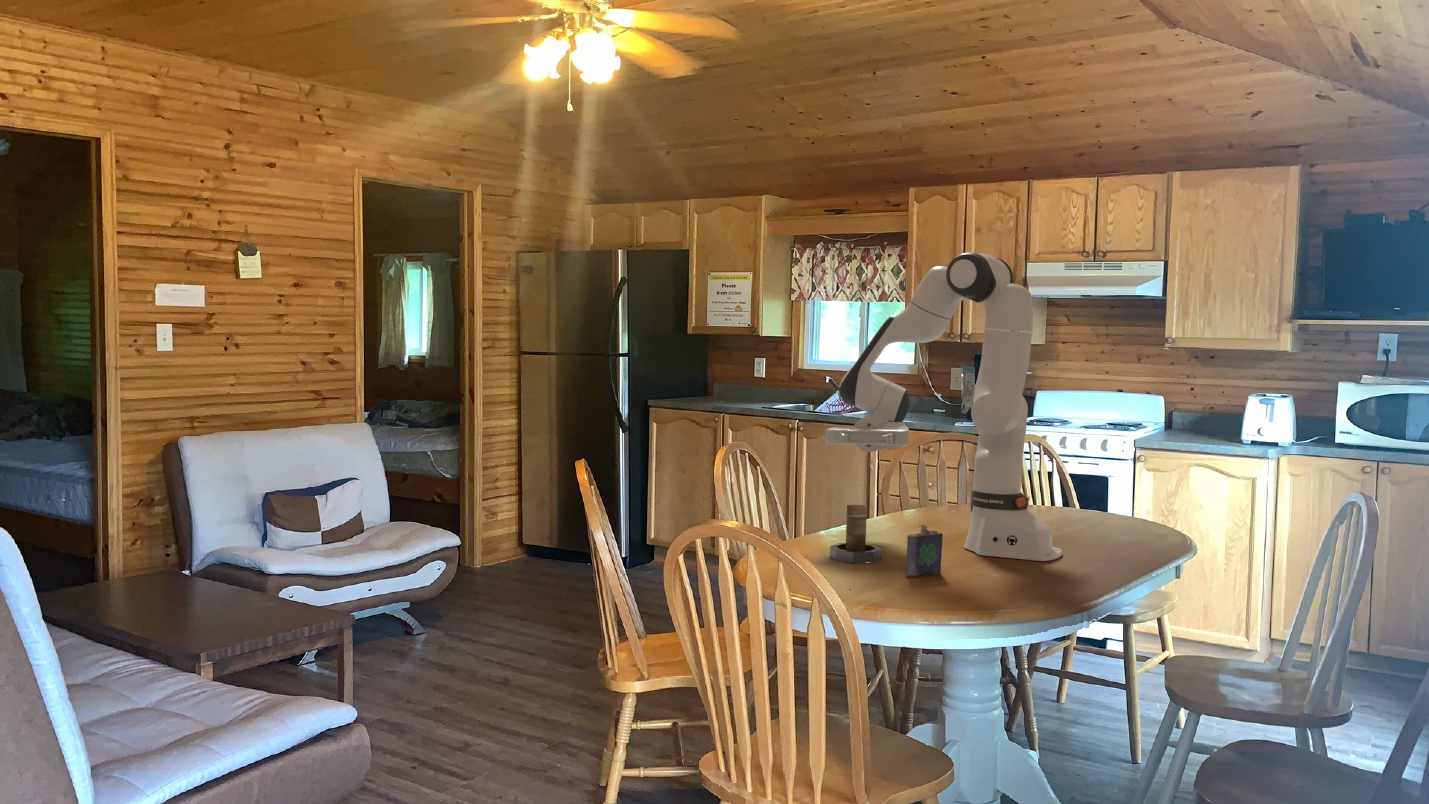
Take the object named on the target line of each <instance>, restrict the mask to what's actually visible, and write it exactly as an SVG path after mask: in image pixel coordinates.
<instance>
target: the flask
mask: <svg viewBox="0 0 1429 804" xmlns="http://www.w3.org/2000/svg"><path fill="white" fill-rule="evenodd" d="M919 528H921V529H920V533H912V534H908V535H907V540H906V541H907V544H906V547H907V548H906V567H905V569H906V570H905V575H906V578H910V577H911V578H921V577H924V578H925V577H928V576H936V575H939V576H940V575H941V573H942V572H941V571H942V570H941V569H942V554H943V553H942V552H943V551H942V549H943V536H944V535H943V533H942V532H940V531H937V530H933V529H932V530H928V529H927V528H928V526H927V525H925V524H921V525H920V526H919Z"/></svg>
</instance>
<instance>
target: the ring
mask: <svg viewBox="0 0 1429 804" xmlns="http://www.w3.org/2000/svg"><path fill="white" fill-rule="evenodd" d="M829 557H830V559H833V560H834V561H836V562H841V563H847V562H849V564H867V563H866V562H874V563H877V562H879V561H881V560H882V548H881V547H879V546H877V545H875V544H870V543H866V548H865V551H849V550H846V542H837V543H834V544H831V545H830V546H829ZM880 559H881V560H880ZM878 560H879V561H878ZM876 561H877V562H876Z"/></svg>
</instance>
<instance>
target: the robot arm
mask: <svg viewBox="0 0 1429 804" xmlns="http://www.w3.org/2000/svg"><path fill="white" fill-rule="evenodd" d="M965 299H968V300H970V301H973V302H974V303H981V304H982V305H983V307H984V311H985V320H984V321H985V322H984V330H983V340H982V350H981V351H982V352H981V358H980V366H979V370H978V374H977V379H976V383H975V388H974V394H973V400H972V406H971V409H970V410H971V412H970V415H971V420H972V422H973V424H974V426H975V428H976V429H978V430H979V431H978V432H979V433H978V439H977V446H976V452H975V455H974V465H973V466H974V467H973V489H971V494H970V512H971V516H970V523H969V527H968V528H969V529H968V532H967V537H966V540H965V542H964V548H965V549H967V550H969V551H971V552H973V553H975V554H977V555H979V556H985V557H996V558H997V557H998V558H1006V559H1007V558H1008V559H1018V560H1027V561H1037V562H1046V561H1047V562H1049V561H1053V560H1056V559H1059V558H1060V557H1062V555H1063V554H1062V553H1063V552H1062V550H1061V548H1059V547H1054V546H1053V537H1052V532H1051V529H1050V527H1049V526H1048V525H1047V524H1046V523H1044V522H1043V521H1042V519H1040V518H1039V517H1038V516H1036V514H1034V513H1033V512H1032V511H1030V509H1029V502H1030V501H1031V499H1030V498H1031V496H1030V495H1029V496H1027V495H1025V494H1024V493H1022V490H1021V489H1022V469H1023V467H1022V465H1023V456H1024V455H1023V454H1024V448H1025V443H1026V442H1025V440H1026V435H1027V434H1026V432H1027V425H1028V424H1027V423H1028V413H1029V407H1028V402H1027V400H1026V399H1025V396H1024V395H1023V394H1024V389H1025V388H1024V386H1025V383H1026V379H1027V378H1026V377H1027V374H1028V369H1029V365H1030V359H1031V358H1030V357H1031V347H1032V340H1033V339H1032V337H1033V333H1032V332H1033V325H1034V308H1033V307H1034V306H1033V298H1032V293H1031V292H1030V290H1029V289H1028V288H1027V287H1025V286H1022V285H1020V284H1019V283H1018V284H1017V283H1015V275H1014V271H1013V270H1012V268H1011V266H1010V265H1009V264H1008V263H1007V262H1006V261H1004V260H1002V259H1001V258H997V257H994V256H992V255H990V254H987V253H976V252H964V253H961V254H958V255H957V256H955V257H954V258H953V259H952V260H951V261H950V263H949V264H948V265H947V266H943V265H940V266H933V267H931V268H930V269H929V270H928V271H927V272H926V273H925V275H924V277H923V278H922V279H921V280H920V283H919V284H918V286H917V287H916V289H915V291H914V293H913V295H912V297H911V299H910V300H909V303H908V305H907V306H906V307H905V308H904V309H903V310H902V311H901V312H900V313H898V314H891V315H890V316H889V317H888V318H886V319H885V321H884V322H883V323H882V325H881V326H880V328H879V329H878V330H877V332H876V333H875V335H874V336H873V337H872V339H871V340H870V341H869V343H868V345H867V346H866V347H865V349H864V350H863V351H862V353H861V355H860V356H859V357H858V359H857V360H856V362H855V363H854V365H853V366H852V367H851V368H850V369H849V370H848V371H847V372H846V373H845V374H844V375H843V377H842V378H841V380H840V382H839V385H838V390H837V391H838V393H839V396H840V398H841V400H842V402H843V403H844V404H846V405H848V406H851V407H853V408H858V409H860V410H862V411H863V412H865V413H868V414H867V415H865V416H863V417H862V418H860V419H858V421H857V422H856V423H855V424H854V426H853V427H848V426H847V427H845V426H843V427H840V426H836V427H829V428H826V430H825V443H826V444H828V445H855V447H856V448H858V449H859V450H860V451H863V452H865V453H874V452H875V453H876V452H878V451H879V452H880V451H883V450H887V449H888V450H890V449H902V448H905V447H906V446H909V445H910V430H909V427H908V426H906V423H905V422H904V420H905V418H906V416H907V414H908V411H909V409H910V406H911V405H910V404H911V397H910V393H909V391H908V389H907V388H904V387H903V386H900V385H899V384H897V383H894V382H893V381H890V380H887V379H885V378H883V377H881V376H879V375H878V374H874V373H873V372H872V371H871V368H872V367H873V365H874V364H875V362H877V359H879V357H880V356H881V353H882V352H883V351H884V349H885V348H886V347H887V346H888V345H890V344H893V343H911V344H924V343H930V342H933V341H935V340H938V339H939V338H941V336H942V335H943V334H944V333H945V331H946V329H947V328H948V326H949V324H950V322H951V320H952V318H953V316H954V313H956V310H957V308H958V306H959V304H960V303H961V302H962V301H963V300H965Z"/></svg>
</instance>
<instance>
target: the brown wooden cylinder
mask: <svg viewBox="0 0 1429 804" xmlns="http://www.w3.org/2000/svg"><path fill="white" fill-rule="evenodd" d="M867 511H868V507H867V506H866V505H863V504H847V505H846V521H845V523H846V524H845V525H846V527H845V543H846V550H849V551H865V548H866V544H867V543H866V541H867V516H868V513H867Z"/></svg>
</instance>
